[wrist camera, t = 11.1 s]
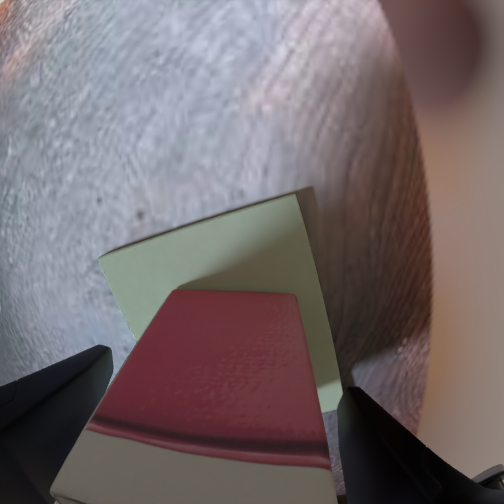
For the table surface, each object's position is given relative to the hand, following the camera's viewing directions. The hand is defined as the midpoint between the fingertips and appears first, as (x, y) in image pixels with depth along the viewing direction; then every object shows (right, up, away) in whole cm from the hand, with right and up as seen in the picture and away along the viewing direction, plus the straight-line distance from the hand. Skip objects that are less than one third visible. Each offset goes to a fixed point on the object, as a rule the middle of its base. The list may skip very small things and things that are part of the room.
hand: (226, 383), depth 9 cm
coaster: (0, +1, +2) cm, 2 cm away
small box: (0, +1, +2) cm, 2 cm away
